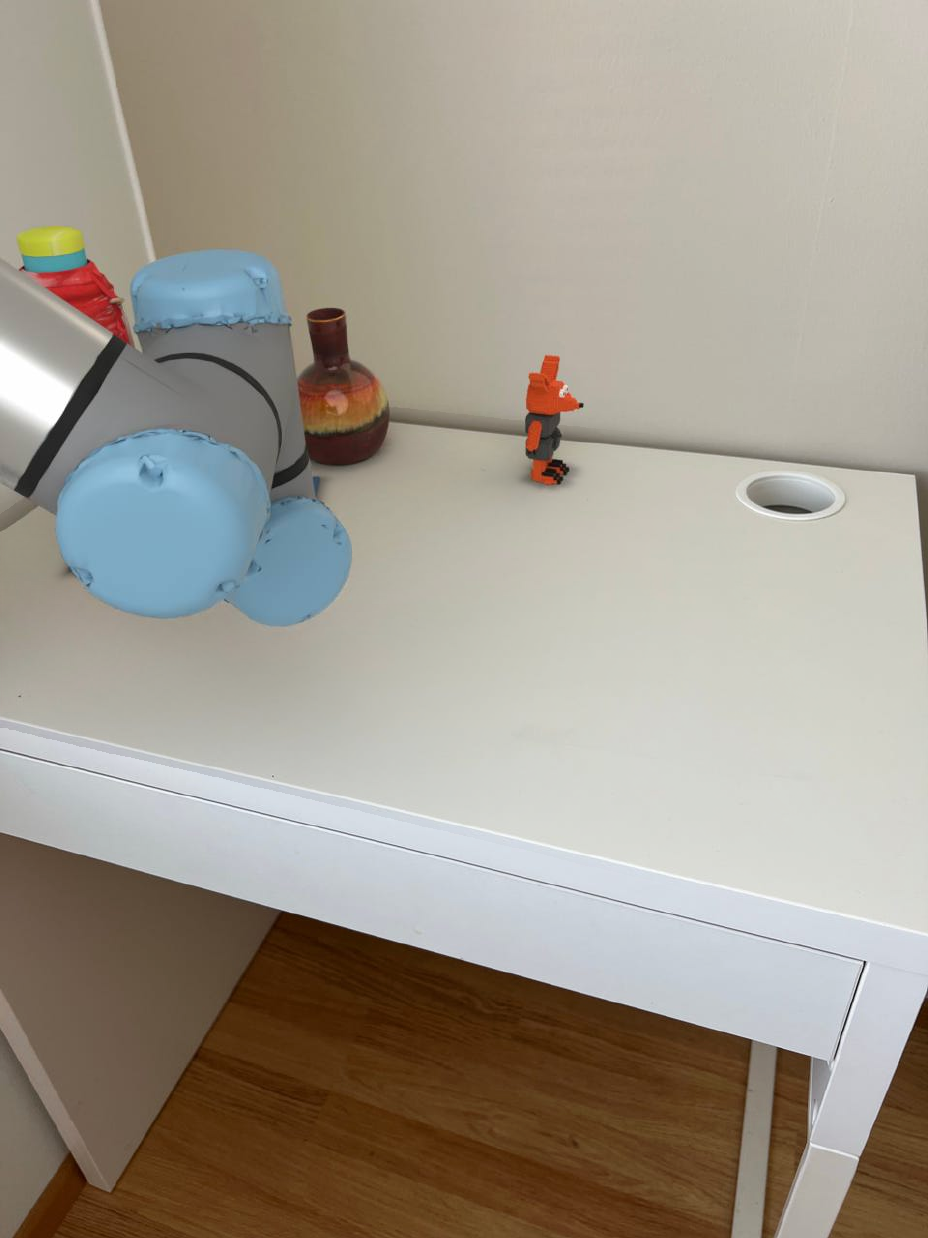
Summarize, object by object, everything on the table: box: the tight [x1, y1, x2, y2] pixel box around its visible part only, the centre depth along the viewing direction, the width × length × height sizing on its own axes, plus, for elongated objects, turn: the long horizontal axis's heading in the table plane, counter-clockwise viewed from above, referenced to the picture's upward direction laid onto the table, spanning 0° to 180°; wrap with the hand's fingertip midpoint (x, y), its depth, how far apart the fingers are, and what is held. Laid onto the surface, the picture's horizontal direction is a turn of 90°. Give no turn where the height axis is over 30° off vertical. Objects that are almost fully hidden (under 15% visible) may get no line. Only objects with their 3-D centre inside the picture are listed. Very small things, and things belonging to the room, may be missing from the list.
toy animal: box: [524, 354, 584, 486], centre depth 101 cm, size 8×5×12 cm
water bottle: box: [16, 225, 137, 349], centre depth 78 cm, size 12×8×25 cm, turn 79°
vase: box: [296, 307, 390, 466], centre depth 108 cm, size 11×11×15 cm
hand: (75, 378), depth 80 cm, fingers closed on water bottle, 8 cm apart
